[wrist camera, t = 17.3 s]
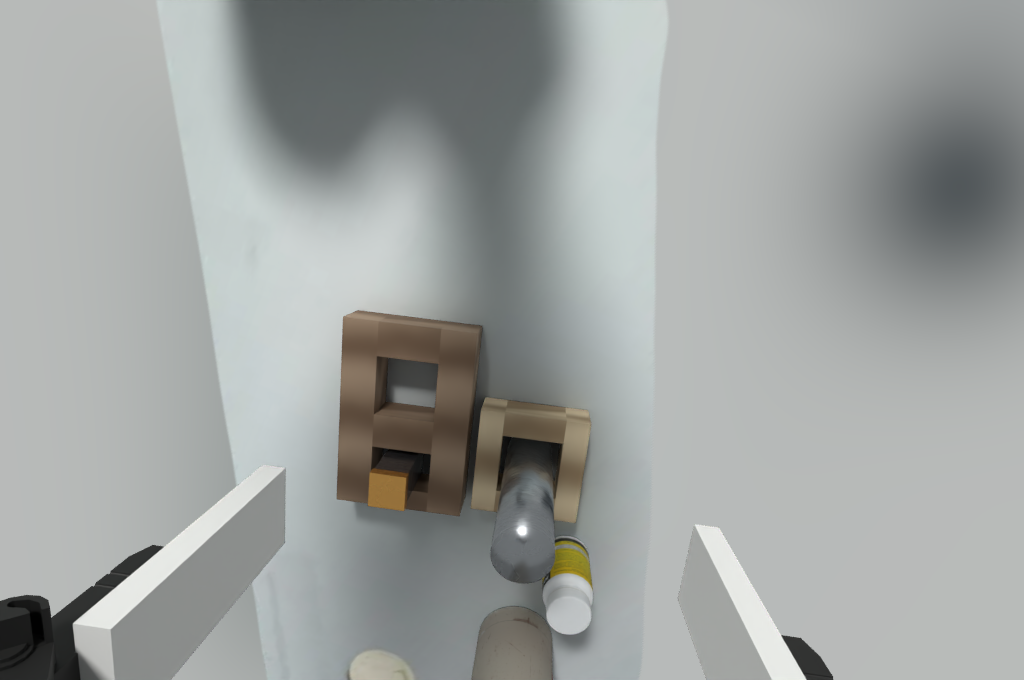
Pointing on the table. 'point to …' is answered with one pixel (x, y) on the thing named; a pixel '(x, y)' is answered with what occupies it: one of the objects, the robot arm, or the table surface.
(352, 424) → the socket block
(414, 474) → the key
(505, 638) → the thermos bottle
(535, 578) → the grey metal cylinder
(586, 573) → the supplement bottle
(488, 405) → the frame
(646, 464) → the table surface
